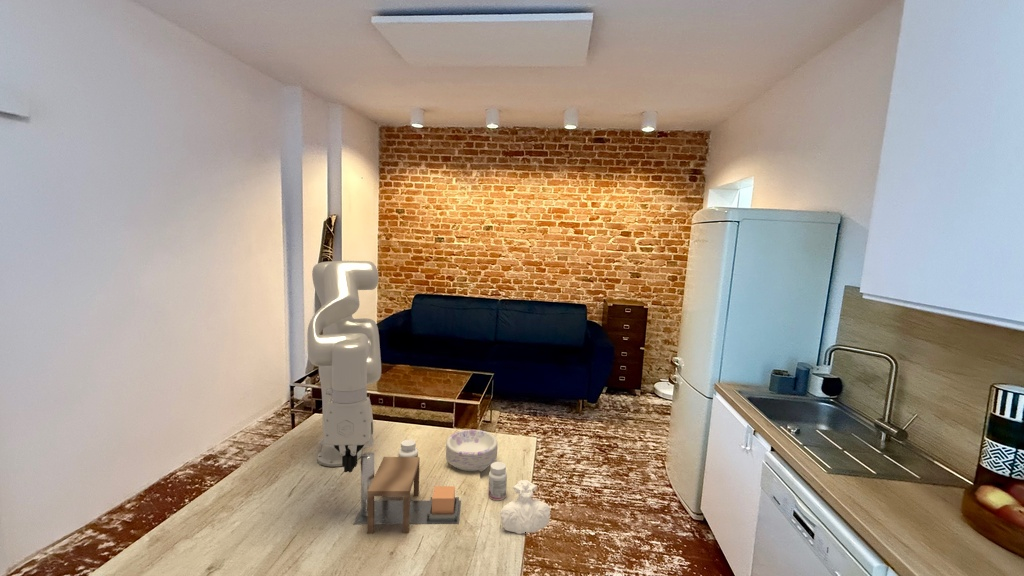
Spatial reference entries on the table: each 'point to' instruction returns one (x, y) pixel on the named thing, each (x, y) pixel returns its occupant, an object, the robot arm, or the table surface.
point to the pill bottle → (497, 481)
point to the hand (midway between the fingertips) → (349, 469)
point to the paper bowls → (471, 450)
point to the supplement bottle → (408, 449)
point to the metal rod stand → (398, 504)
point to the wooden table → (394, 485)
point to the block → (443, 500)
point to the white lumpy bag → (525, 511)
